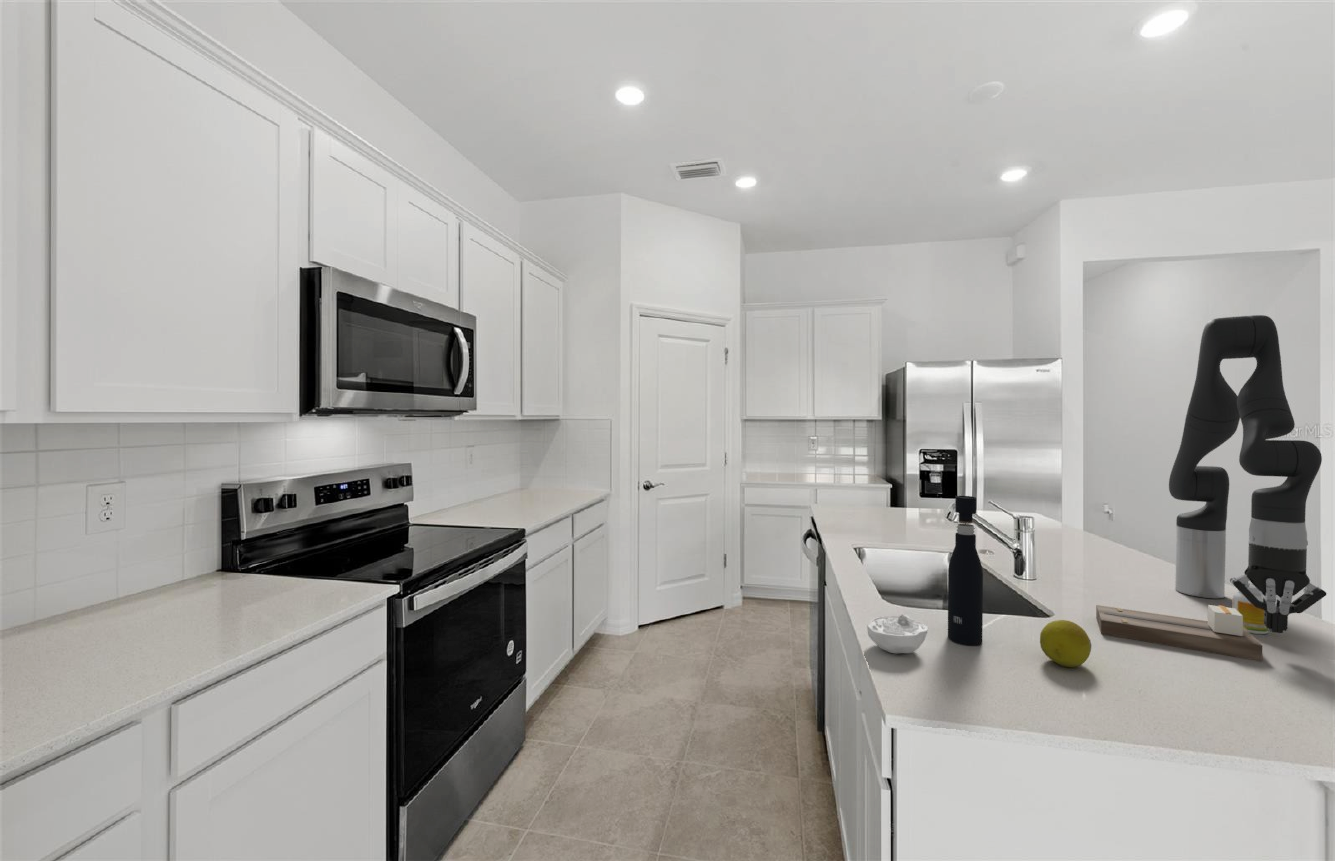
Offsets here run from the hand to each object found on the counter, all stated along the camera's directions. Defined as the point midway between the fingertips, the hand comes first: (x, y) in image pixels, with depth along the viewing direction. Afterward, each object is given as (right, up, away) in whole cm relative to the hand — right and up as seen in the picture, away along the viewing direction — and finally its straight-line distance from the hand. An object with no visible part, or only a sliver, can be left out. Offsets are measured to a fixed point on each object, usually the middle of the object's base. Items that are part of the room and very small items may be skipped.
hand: (1275, 631), depth 106 cm
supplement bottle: (+8, -4, +12) cm, 15 cm away
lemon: (-43, -5, -3) cm, 43 cm away
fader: (-6, -1, +4) cm, 7 cm away
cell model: (-72, -5, +3) cm, 72 cm away
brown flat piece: (-12, -4, +8) cm, 16 cm away
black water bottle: (-56, -5, +8) cm, 57 cm away
